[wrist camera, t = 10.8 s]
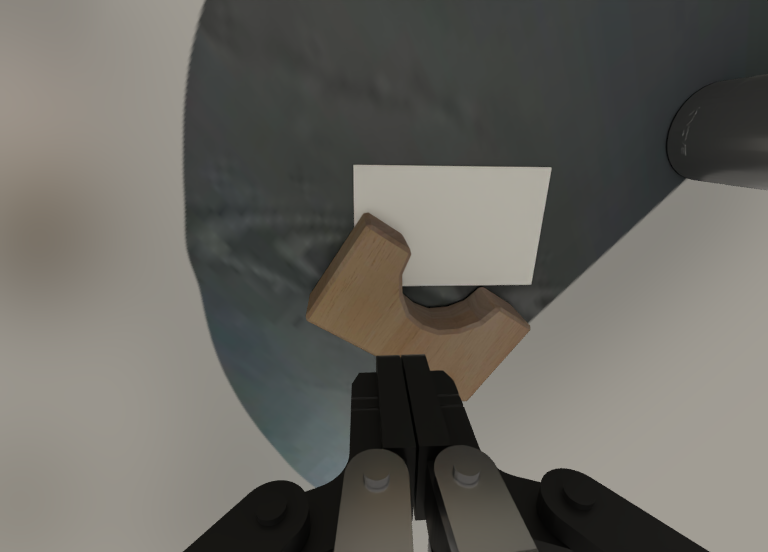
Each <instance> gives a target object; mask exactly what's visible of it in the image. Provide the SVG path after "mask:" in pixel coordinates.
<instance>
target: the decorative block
mask: <svg viewBox="0 0 768 552" xmlns="http://www.w3.org/2000/svg"><path fill="white" fill-rule="evenodd" d="M410 256H411V251H410V248H409V246H408V244H407V242H406V240H405V238H404V237H403V235H402V234H401V233H400V232H398V231H396V230H395V229H393V228H392V227H390V226H389V225H387V224H386V223H384V222H383V221H381V220H379V219H378V218H376V217H375V216H373V215H372V214H370V213H369V212H368V213H363V215H362V216H361V218H360V219H359V221H358V222H357V224H356V226H355V227H354V229H353V230H352V232H351V233H350V235H349V236H348V238H347V239H346V241H345V242H344V244H343V245H342V247H341V248H340V250H339V251H338V253H337V254H336V256H335V257H334V259H333V260H332V262H331V263H330V265H329V266H328V268H327V270H326V271H325V273H324V274H323V276H322V277H321V279H320V280H319V282H318V283H317V285H316V286H315V288H314V289H313V291H312V292H311V294H310V297H309V302H308V307H307V312H306V319H307V321H309V322H311V323H313V324H315V325H317V326H318V327H320V328H322V329H324V330H326V331H328V332H330V333H332V334H334V335H336V336H338V337H340V338H342V339H344V340H346V341H348V342H350V343H352V344H353V345H355V346H357V347H359V348H361V349H363V350H365V351H367V352H369V353H371V354H373V355H375V356H377V355H400V358H401V355H410V354H425V355H426V358H427V362H428V365H429V368H430V371H434V370H443V371H444V372H446V373H447V374H448V375H449V376H450V377H451V378H452V379H453V380H454V382H455V385H456V387H457V390H458V393H459V396H460V398H461V400H462V401H467V400H468V399H469V398H470V397H471V396H472V395H473V394H474V393H475V391H476V390H477V389H478V388H479V387H480V385H482V383H483V382H484V381H485V380H486V379H487V378H488V377H489V375H490V374H491V373H492V372H493V371H494V370H495V369H496V368H497V366H498V365H499V364H500V363H501V362H502V361H503V360H504V359H505V358H506V356H507V355H508V354H509V353H510V352H511V351H512V350H513V349H514V348H515V346H516V345H517V344H518V343H519V342H520V341H521V340H522V339H523V337H524V336H525V335H526V334H527V333H528V332H529V331H530V325H529V324H528V323H527V322H526V321H525V320H524V319H523V318H522V316H521V315H520V314H519V313H518V312H517V311H516V310H515V309H514V308H513V307H512V306H511V305H510V304H509V303H507V302H506V301H504V300H503V299H501V298H500V297H498V296H497V295H495V294H493V293H492V292H490V291H489V290H487V289H486V288H484V287H479V288H478V289H477V290H476V291H474V292H473V293H472V294H471V295H470V296H469V297H467V298H466V299H465V300H464V301H461V302H458V303H455V304H453V305H450V306H447V307H436V308H426V307H424V306H421V305H418V304H416V303H413V302H412V301H411V300H410V299H409V298H408V297H406V296H405V295H404V294H403V293H402V274H403V272H404V270H405V267H406V265H407V263H408V261H409V259H410Z"/></svg>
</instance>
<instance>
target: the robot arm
mask: <svg viewBox="0 0 768 552" xmlns="http://www.w3.org/2000/svg"><path fill="white" fill-rule="evenodd" d="M667 152H668V157H669V161H670V163H671V165H672V166H673V168H674V169H675V170H676V171H677V172H678V174H680V175H682V176H683V177H685V178H688V179H692V180H698V181H704V182H712V183H720V184H726V185H733V186H740V187H747V188H754V189H763V190H768V74H766V75H759V76H752V77H746V78H739V79H732V80H725V81H720V82H715V83H713V84H710V85H708V86H706V87H704V88H702V89H701V90H699V91H698V92H696V93H695V94H694V95H693V96H692V97H691V98H689V99H688V100H687V101H686V102H685V104H684V105H683V106H682V108H681V109H680V110H679V112H678V113H677V115H676V117H675V119H674V120H673V123H672V126H671V128H670V131H669V136H668V141H667ZM413 509H414V516H415V520H426V523H427V529H428V535H429V539H428V552H709V551H707V550H706V549H704V548H702V547H701V546H699V545H698V544H696V543H695V542H693V541H691V540H690V539H688V538H687V537H685V536H683V535H682V534H680V533H679V532H677V531H675V530H674V529H672V528H670V527H669V526H667V525H666V524H664V523H663V522H661V521H659V520H658V519H656V518H655V517H653V516H651V515H650V514H648V513H646V512H645V511H643V510H642V509H640V508H639V507H637V506H635V505H634V504H632V503H630V502H629V501H627V500H626V499H624V498H623V497H621V496H619V495H618V494H616V493H615V492H613V491H611V490H610V489H608V488H607V487H605V486H603V485H602V484H600V483H598V482H597V481H595V480H594V479H592V478H591V477H589V476H587V475H585V474H583V473H581V472H578V471H575V470H571V469H562V468H560V469H554V470H551V471H549V472H547V473H546V474H545V475H544V476H543V478H542V480H541V482H537V481H533V480H529V479H525V478H520V477H516V476H513V475H510V474H507V473H505V472H503V471H501V470H499V469H498V468H497V467H496V465H495V463H494V462H493V461H492V460H491V459H490V457H488V456H487V455H486V454H485V453H483V452H482V451H481V450H480V448H479V446H478V443H477V440H476V438H475V435H474V432H473V430H472V427H471V425H470V422H469V419H468V417H467V414H466V411H465V408H464V407H463V403H462V401H461V398H460V396H459V393H458V390H457V387H456V385H455V382H454V380H453V379H452V378H451V377H450V376H449V375H448V374H447V373H446V372H444V371H443V370H434V371H430V368H429V365H428V362H427V358H426V355H425V354H410V355H401V358H400V355H377V356H376V372H372V373H359V374H358V376H357V377H356V379H355V380H354V382H353V383H352V396H351V426H350V454H349V460H348V463H347V465H346V467H345V468H344V470H343V471H342V473H341V474H340V475H339V476H338V477H336V478H335V479H334V480H332V481H331V482H329V483H327V484H325V485H323V486H320V487H317V488H315V489H312V490H309V491H306V492H304V490H303V489H302V488H301V487H300V486H299V485H297V484H295V483H293V482H290V481H284V480H278V481H272V482H268V483H265V484H263V485H261V486H259V487H257V488H256V489H254V490H253V491H252V492H250V493H249V494H248V495H247V496H246V497H245V498H243V499H242V500H241V501H240V502H239V503H238V504H237V505H236V506H234V507H233V508H232V509H231V510H230V511H229V512H228V513H226V514H225V515H224V516H223V517H222V518H221V519H220V520H219V521H217V522H216V523H215V524H214V525H213V526H212V527H211V528H210V529H208V530H207V531H206V532H205V533H204V534H203V535H202V536H200V537H199V538H198V539H197V540H196V541H195V542H194V543H193V544H191V545H190V546H189V547H188V548H187V549H186V550H185V551H183V552H413V536H412V519H413Z"/></svg>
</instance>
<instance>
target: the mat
mask: <svg viewBox="0 0 768 552" xmlns="http://www.w3.org/2000/svg"><path fill="white" fill-rule="evenodd" d="M353 169H354V227H355V226H356V224H357V222H358V221H359V219H360V218H361V216H362V215H363V213H368V212H369V213H370V214H372V215H373V216H375V217H376V218H378V219H379V220H381V221H383V222H384V223H386V224H387V225H389V226H390V227H392V228H393V229H395V230H396V231H398V232H400V233H401V234H402V235H403V237H404V238H405V240H406V242H407V244H408V246H409V248H410V251H411V256H410V259H409V261H408V263H407V265H406V267H405V270H404V272H403V274H402V286H454V285H531V283H532V277H533V272H534V266H535V260H536V254H537V249H538V243H539V237H540V231H541V226H542V220H543V214H544V209H545V203H546V197H547V191H548V186H549V180H550V174H551V167H493V166H413V165H353Z"/></svg>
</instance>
